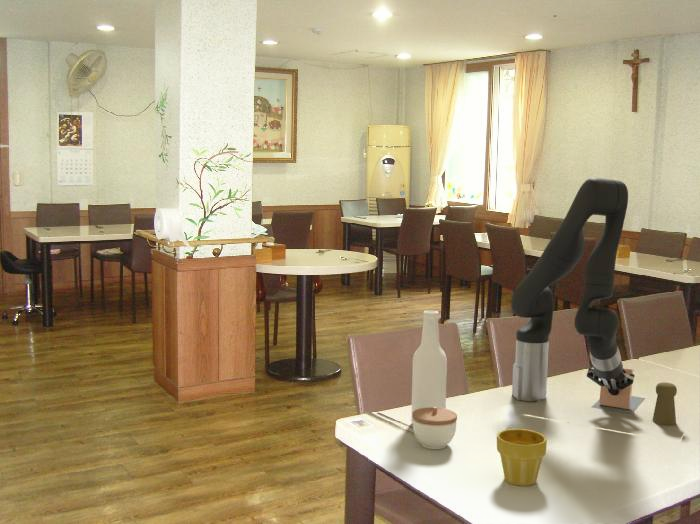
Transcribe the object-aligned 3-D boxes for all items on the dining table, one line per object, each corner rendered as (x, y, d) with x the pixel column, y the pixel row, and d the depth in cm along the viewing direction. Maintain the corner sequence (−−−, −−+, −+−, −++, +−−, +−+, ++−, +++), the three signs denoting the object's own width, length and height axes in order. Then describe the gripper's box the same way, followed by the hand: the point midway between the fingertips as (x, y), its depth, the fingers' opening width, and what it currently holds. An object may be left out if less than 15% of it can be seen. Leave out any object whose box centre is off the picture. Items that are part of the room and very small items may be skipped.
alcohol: (407, 427, 201) (409, 312, 197) (416, 417, 209) (418, 307, 205) (440, 432, 198) (443, 315, 194) (448, 421, 206) (451, 309, 202)
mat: (631, 415, 213) (631, 413, 213) (591, 408, 219) (591, 407, 219) (645, 399, 228) (645, 398, 228) (606, 393, 234) (606, 392, 234)
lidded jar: (403, 440, 191) (404, 403, 190) (441, 435, 195) (443, 398, 194) (425, 455, 181) (426, 416, 180) (464, 449, 186) (465, 411, 184)
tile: (628, 409, 216) (632, 369, 216) (599, 404, 220) (602, 365, 221) (630, 408, 218) (633, 369, 219) (601, 403, 222) (604, 365, 223)
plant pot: (500, 489, 162) (502, 444, 161) (491, 470, 173) (493, 428, 171) (550, 490, 162) (552, 445, 161) (538, 471, 173) (539, 428, 171)
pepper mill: (678, 428, 203) (681, 387, 202) (654, 426, 204) (656, 385, 203) (673, 421, 209) (676, 381, 208) (650, 419, 210) (652, 379, 209)
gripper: (634, 350, 205) (641, 384, 217) (584, 343, 212) (593, 377, 223) (629, 374, 201) (636, 408, 213) (577, 366, 208) (587, 400, 220)
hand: (614, 392), depth 218 cm, fingers closed
